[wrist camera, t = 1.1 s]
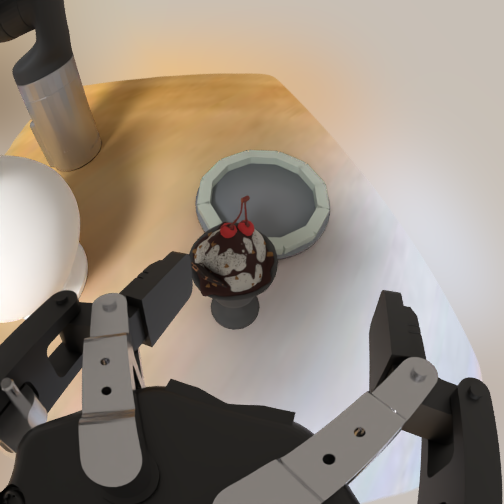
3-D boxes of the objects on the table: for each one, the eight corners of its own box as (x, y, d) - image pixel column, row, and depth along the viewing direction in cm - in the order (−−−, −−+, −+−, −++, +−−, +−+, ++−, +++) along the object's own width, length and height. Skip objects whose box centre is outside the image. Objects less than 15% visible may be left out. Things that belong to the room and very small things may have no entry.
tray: (188, 258, 34) (185, 250, 33) (204, 155, 43) (203, 147, 41) (337, 262, 35) (341, 254, 33) (320, 160, 43) (322, 152, 42)
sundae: (261, 273, 33) (273, 175, 21) (271, 332, 30) (296, 260, 17) (200, 280, 33) (177, 184, 20) (206, 340, 29) (178, 274, 17)
